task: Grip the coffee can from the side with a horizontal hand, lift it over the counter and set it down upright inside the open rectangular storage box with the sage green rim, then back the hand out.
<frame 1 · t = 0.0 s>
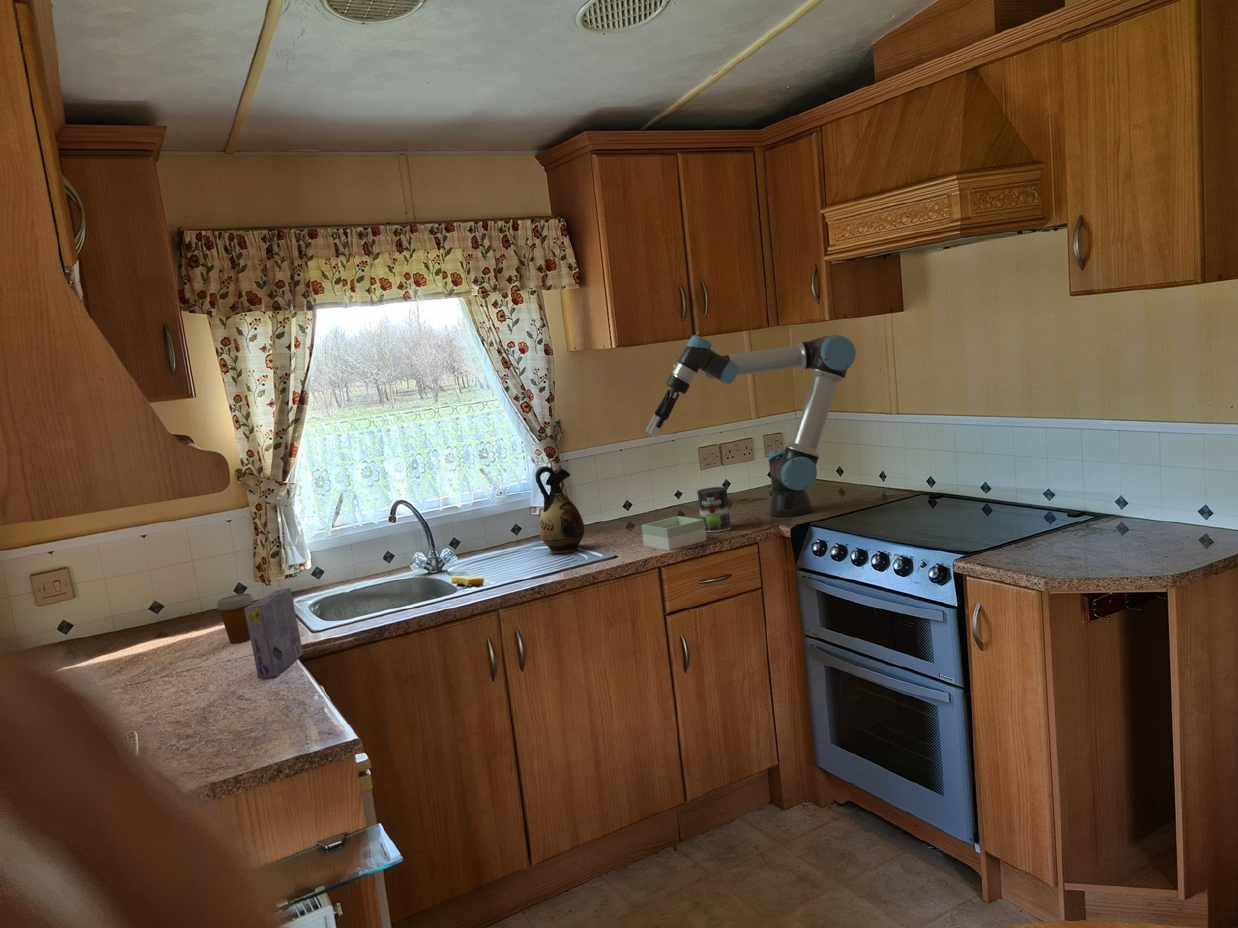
hand: (650, 434, 321), 36 cm above the worktop, tool tilted 35°, fingers open, 13 cm apart
cake pan box: (282, 667, 232), on the worktop
ceramic jug: (562, 551, 326), on the worktop
open rectangular storage box: (674, 542, 315), on the worktop
coffee can: (716, 530, 328), on the worktop
disposable coffee cup: (242, 640, 263), on the worktop
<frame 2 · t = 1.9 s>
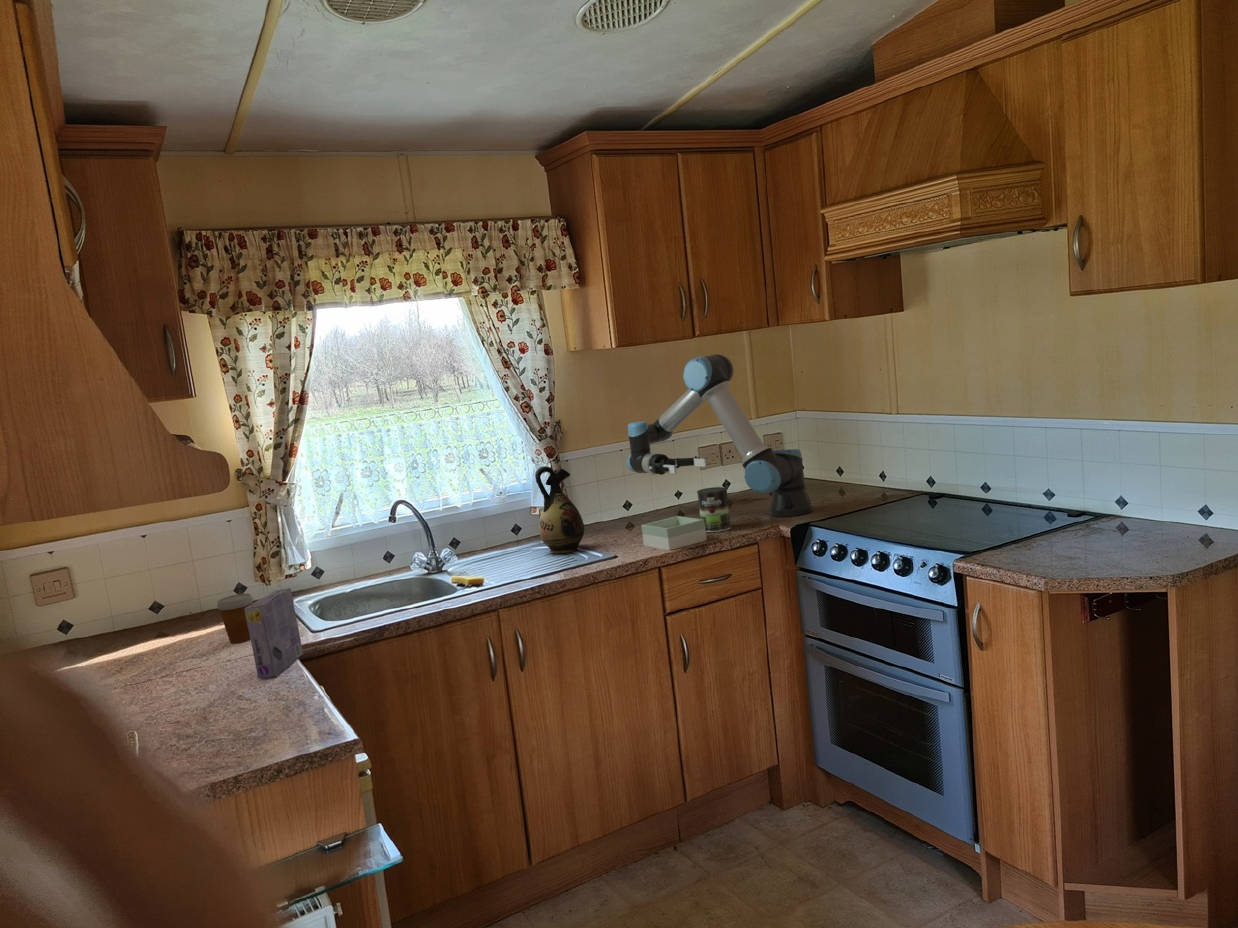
hand: (690, 466, 334), 22 cm above the worktop, tool horizontal, fingers open, 13 cm apart
nothing on the worktop moved.
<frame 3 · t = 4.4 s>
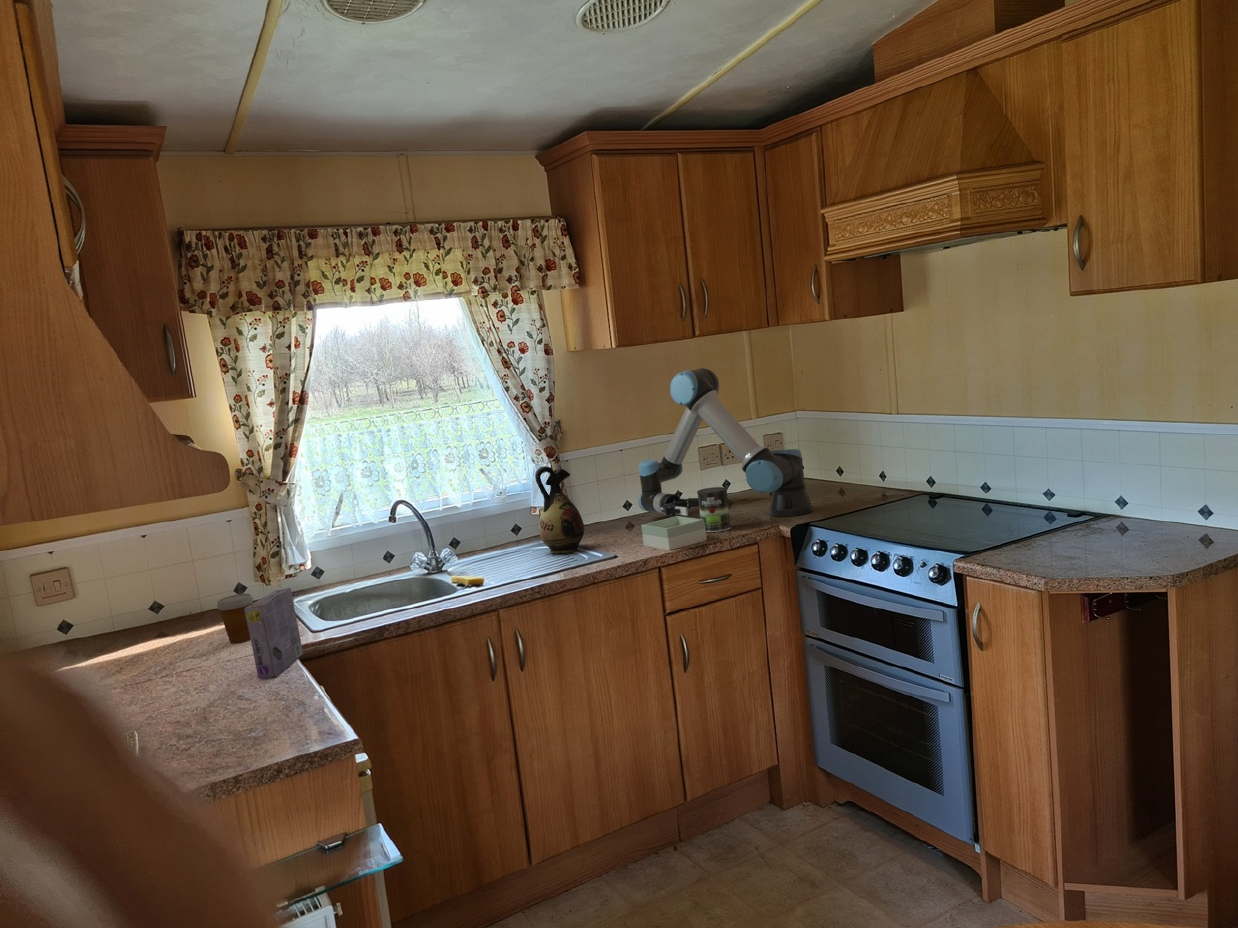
hand: (702, 507, 332), 7 cm above the worktop, tool horizontal, fingers open, 13 cm apart
nothing on the worktop moved.
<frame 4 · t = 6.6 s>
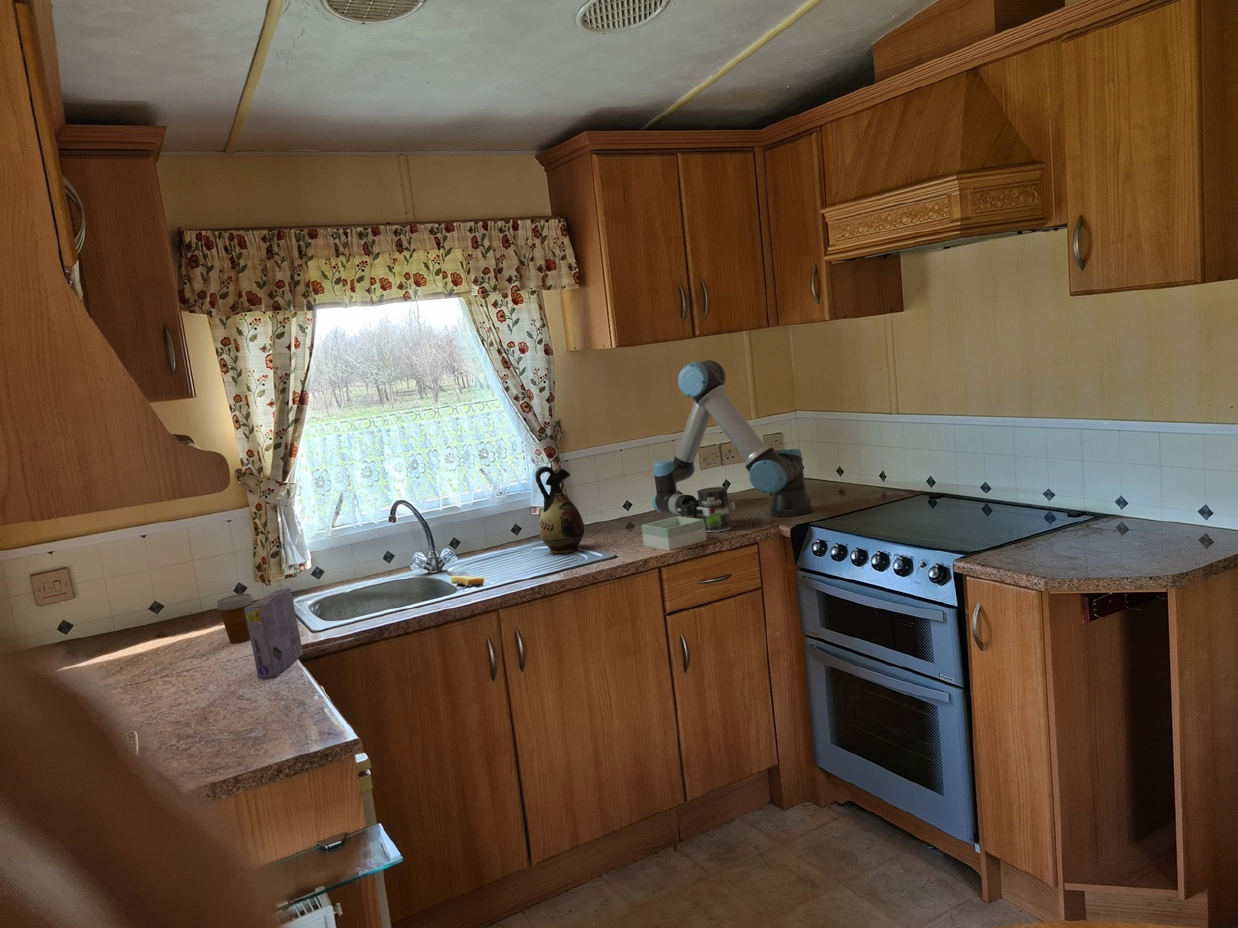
hand: (721, 509, 323), 8 cm above the worktop, tool horizontal, fingers closed on coffee can, 10 cm apart
coffee can: (716, 530, 328), on the worktop, touching gripper
everything else where it was.
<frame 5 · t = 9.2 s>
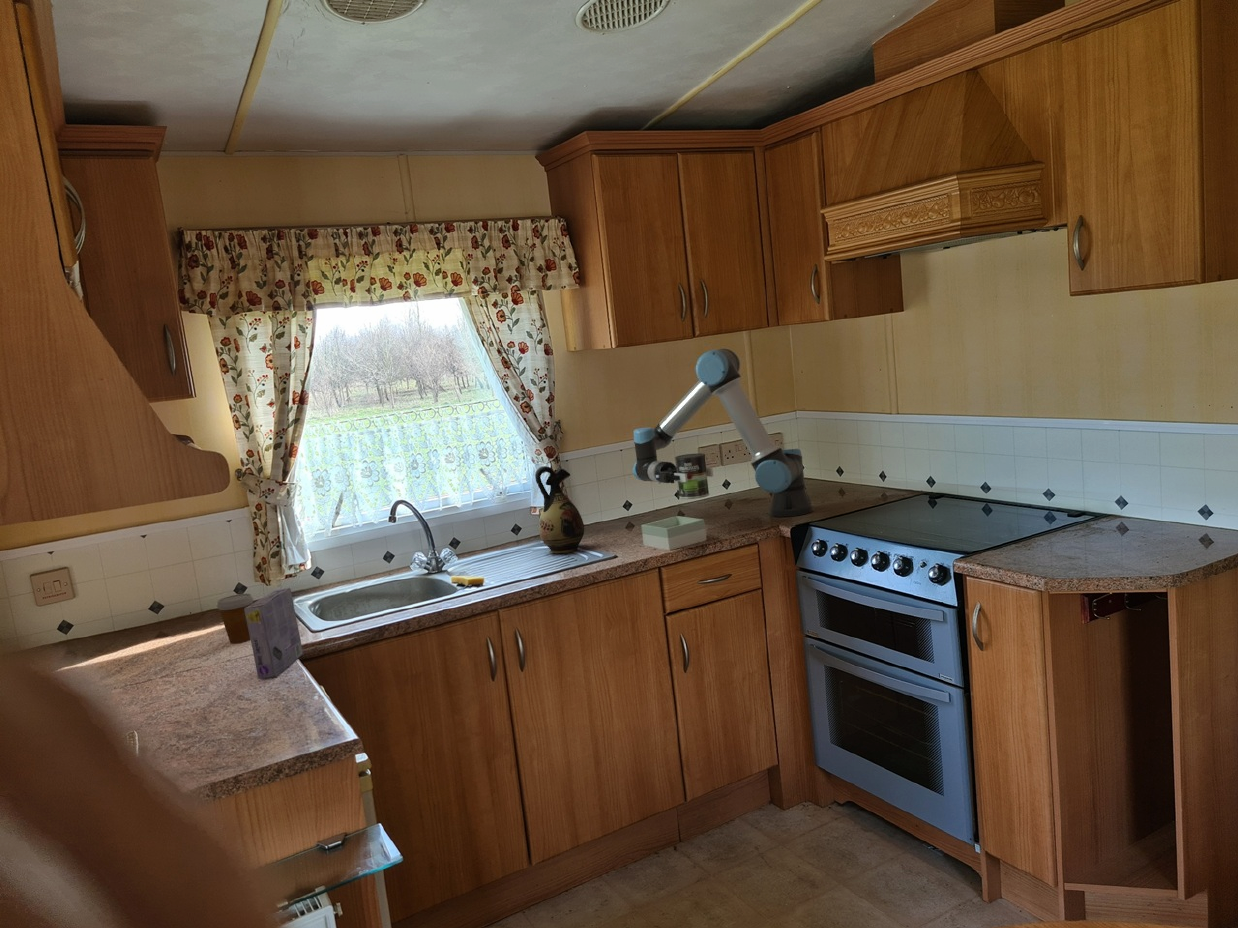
hand: (699, 475, 319), 21 cm above the worktop, tool horizontal, fingers closed on coffee can, 10 cm apart
coffee can: (694, 496, 324), point 13 cm above the worktop, touching gripper
everything else where it was.
when the fingers open (13 cm above the worktop, at t = 12.2 s): coffee can drops 1 cm, resting on open rectangular storage box.
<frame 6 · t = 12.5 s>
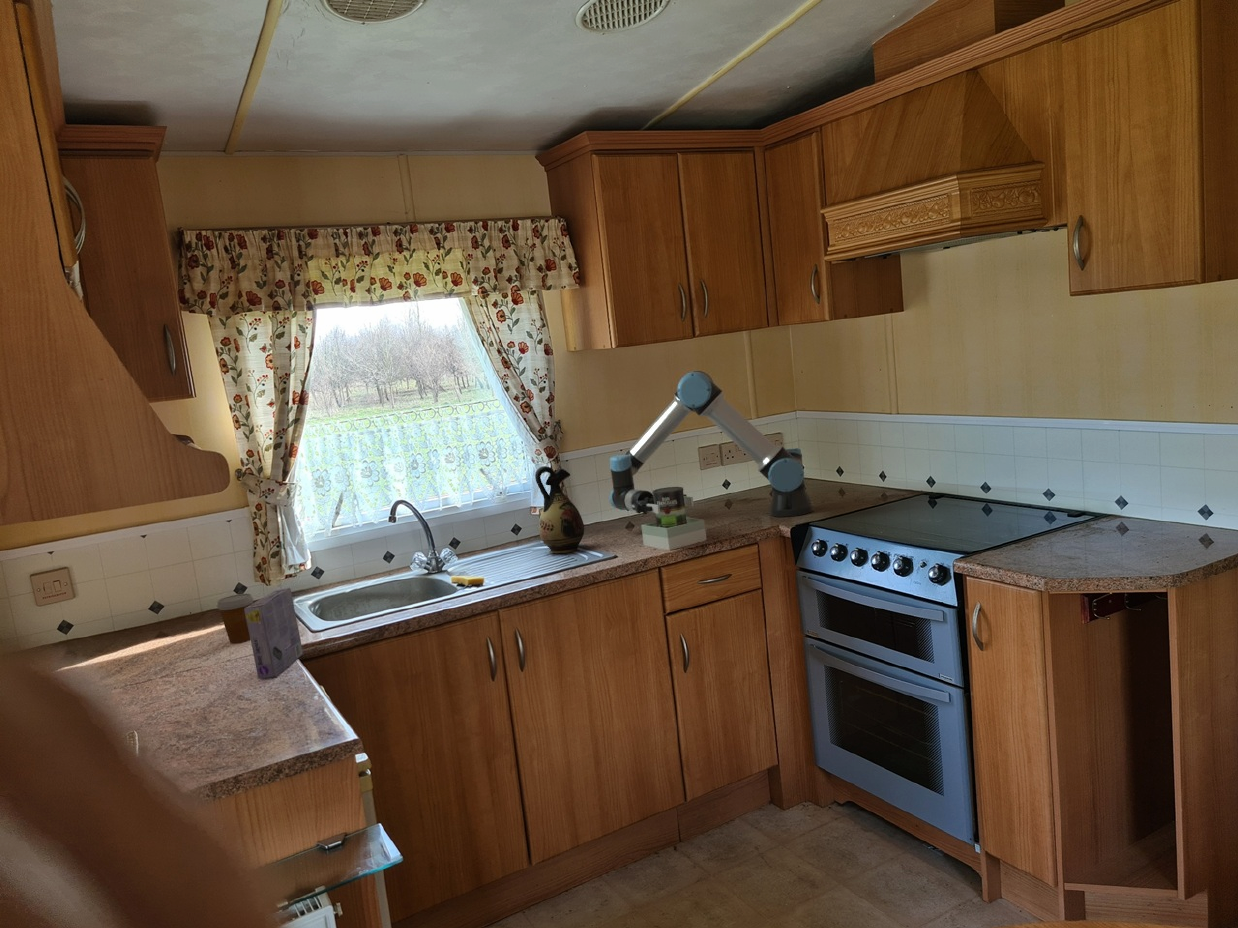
hand: (675, 505, 311), 13 cm above the worktop, tool horizontal, fingers open, 13 cm apart
coffee can: (673, 531, 315), point 4 cm above the worktop, touching open rectangular storage box
everything else where it was.
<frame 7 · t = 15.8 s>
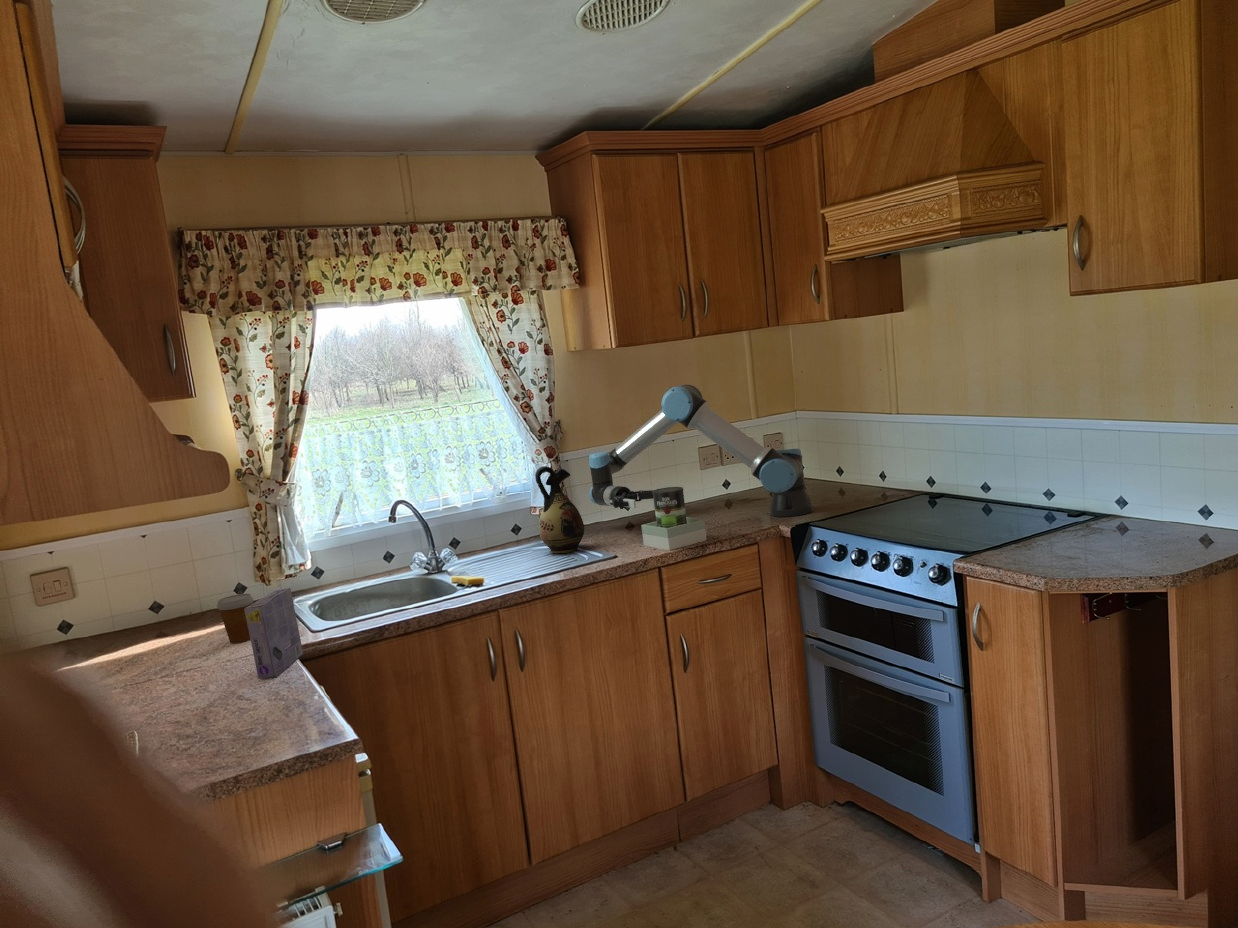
hand: (651, 500, 323), 14 cm above the worktop, tool horizontal, fingers open, 13 cm apart
nothing on the worktop moved.
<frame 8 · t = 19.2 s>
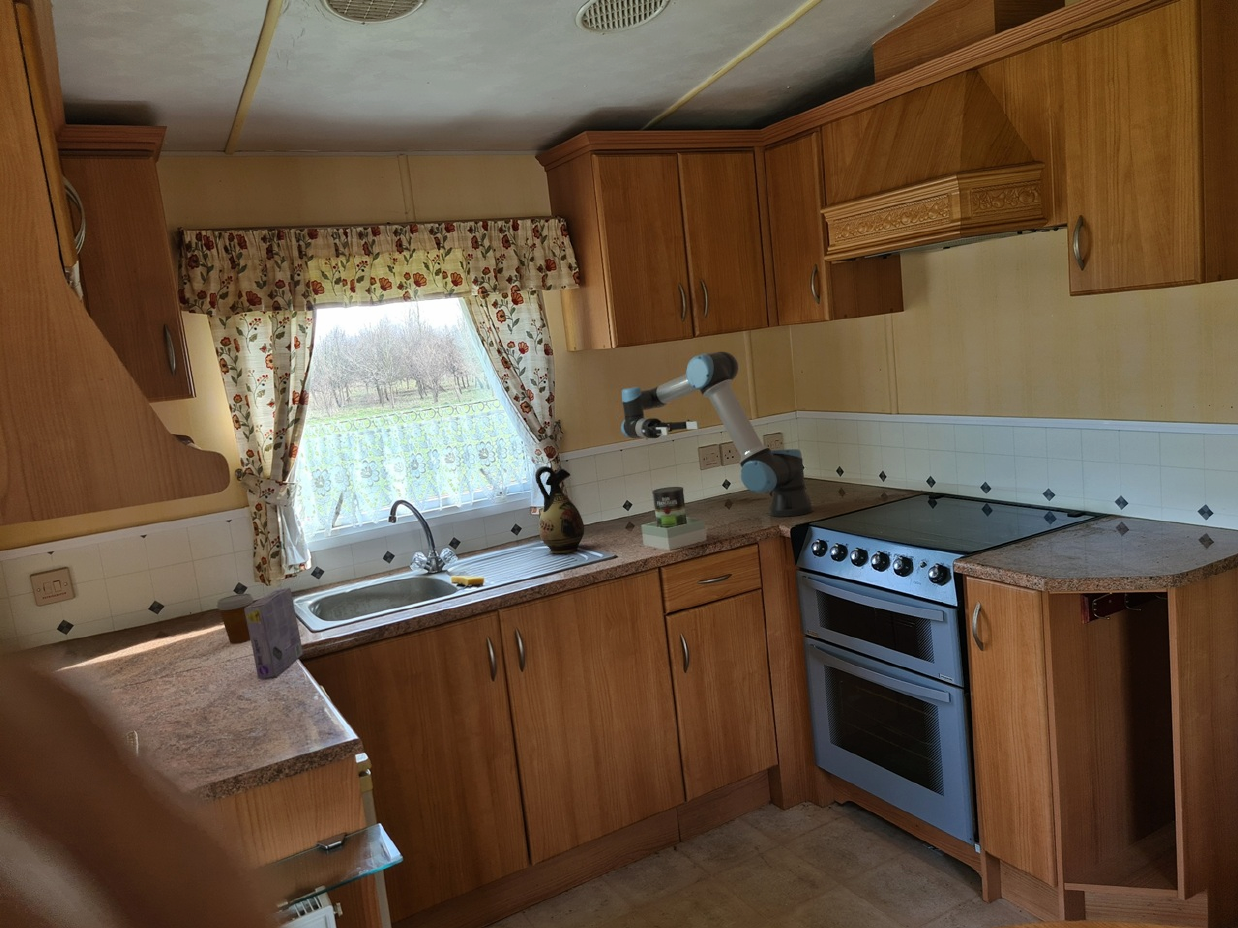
hand: (682, 428, 340), 35 cm above the worktop, tool horizontal, fingers open, 13 cm apart
nothing on the worktop moved.
at the end: coffee can 0.1 cm off-centre on the open rectangular storage box, point 3.8 cm above the open rectangular storage box's base; coffee can tilted 0°; the gripper is holding nothing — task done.
